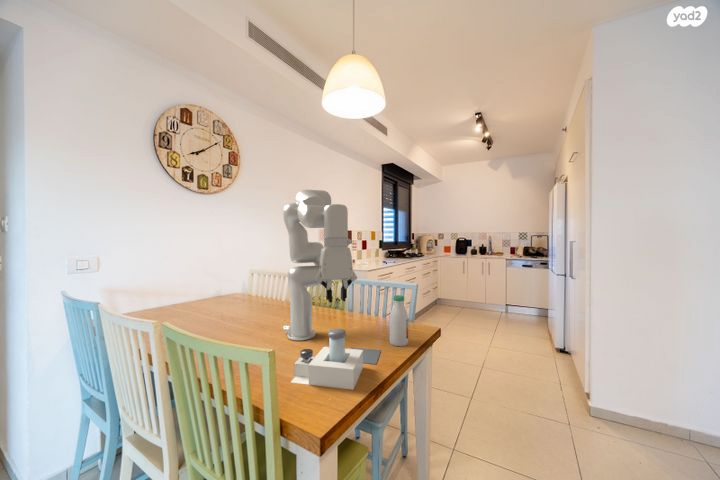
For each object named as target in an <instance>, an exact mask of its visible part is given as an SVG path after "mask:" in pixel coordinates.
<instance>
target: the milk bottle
mask: <svg viewBox="0 0 720 480" xmlns="http://www.w3.org/2000/svg"><path fill="white" fill-rule="evenodd" d="M392 302H393V305H392V309H391V310H390V313H389V343H390V345H391V346H393V347H405V346H407V345H408V344H409V315H408V312H407V309H406V307H405V296H403V295H398V294H397V295H393V297H392Z"/></svg>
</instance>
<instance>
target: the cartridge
mask: <svg viewBox="0 0 720 480" xmlns="http://www.w3.org/2000/svg"><path fill="white" fill-rule="evenodd" d="M327 333H328V334H327V337H328V339H329V341H328V343H329V344H328V345H329V346H328V347H329V361H330V362H341V363H345V349H346V336H347V334H346V333H347V331H346V329H343V328H333V329H330V330H328V332H327Z"/></svg>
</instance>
